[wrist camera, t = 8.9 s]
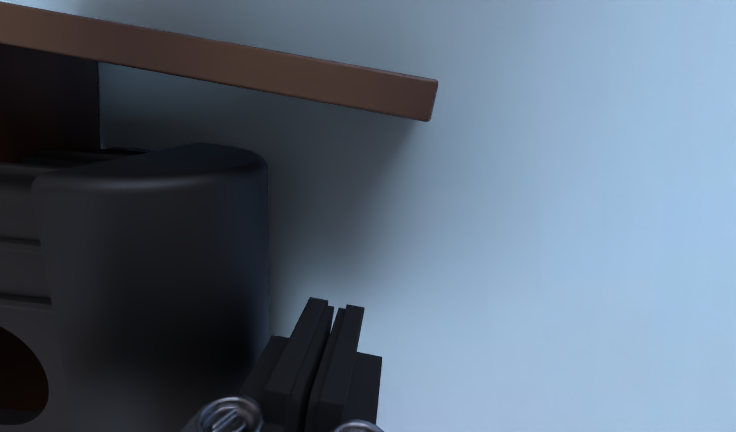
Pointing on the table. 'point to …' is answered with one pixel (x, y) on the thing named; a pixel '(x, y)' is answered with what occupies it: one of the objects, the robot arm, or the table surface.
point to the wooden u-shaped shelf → (158, 54)
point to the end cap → (134, 281)
